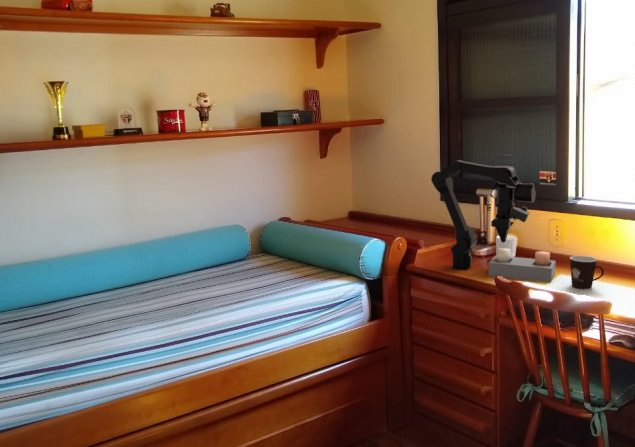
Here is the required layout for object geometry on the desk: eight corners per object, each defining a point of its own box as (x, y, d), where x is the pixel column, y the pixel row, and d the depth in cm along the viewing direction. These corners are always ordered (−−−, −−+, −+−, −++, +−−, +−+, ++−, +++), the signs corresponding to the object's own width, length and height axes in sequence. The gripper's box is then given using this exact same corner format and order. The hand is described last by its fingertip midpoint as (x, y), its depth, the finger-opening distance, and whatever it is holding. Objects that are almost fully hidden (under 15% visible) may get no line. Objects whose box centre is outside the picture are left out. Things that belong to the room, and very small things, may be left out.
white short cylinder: (494, 261, 239) (495, 250, 238) (497, 258, 243) (497, 247, 242) (508, 263, 236) (509, 251, 236) (510, 260, 241) (511, 248, 240)
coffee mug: (563, 283, 225) (565, 256, 223) (587, 282, 226) (589, 255, 224) (580, 293, 214) (581, 264, 212) (604, 292, 215) (606, 263, 213)
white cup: (515, 259, 260) (516, 235, 258) (516, 264, 253) (517, 239, 251) (495, 258, 262) (496, 234, 260) (495, 263, 254) (496, 238, 252)
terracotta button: (534, 265, 232) (534, 253, 232) (535, 262, 237) (536, 250, 236) (548, 266, 230) (549, 255, 229) (550, 263, 235) (550, 252, 234)
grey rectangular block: (488, 275, 237) (488, 262, 236) (494, 267, 248) (495, 255, 247) (551, 282, 227) (551, 268, 226) (554, 273, 238) (555, 260, 237)
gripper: (523, 205, 223) (522, 249, 226) (531, 197, 240) (529, 238, 243) (491, 204, 228) (490, 246, 231) (501, 196, 245) (499, 236, 248)
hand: (503, 241), depth 238 cm, fingers closed
